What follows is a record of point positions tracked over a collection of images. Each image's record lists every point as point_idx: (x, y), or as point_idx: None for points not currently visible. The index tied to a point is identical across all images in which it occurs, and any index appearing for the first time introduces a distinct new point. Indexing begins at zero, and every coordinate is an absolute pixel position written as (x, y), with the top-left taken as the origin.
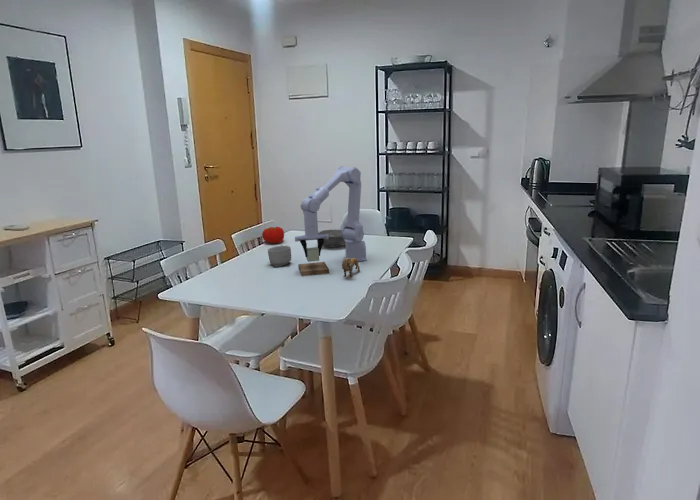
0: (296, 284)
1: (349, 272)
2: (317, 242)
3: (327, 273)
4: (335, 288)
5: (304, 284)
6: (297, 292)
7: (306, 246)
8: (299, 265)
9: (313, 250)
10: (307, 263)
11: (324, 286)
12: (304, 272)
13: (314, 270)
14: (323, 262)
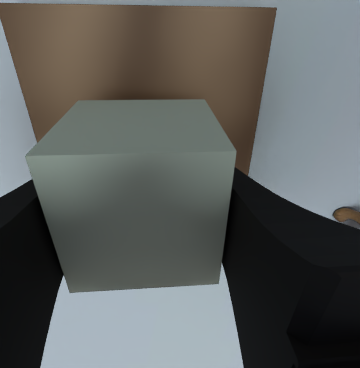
0: None
1: (335, 218)
2: (270, 250)
3: None
4: (204, 341)
5: (92, 301)
6: (70, 351)
7: (40, 353)
8: (18, 63)
9: (151, 284)
10: (97, 12)
11: (171, 325)
12: None
13: None
14: (258, 35)
